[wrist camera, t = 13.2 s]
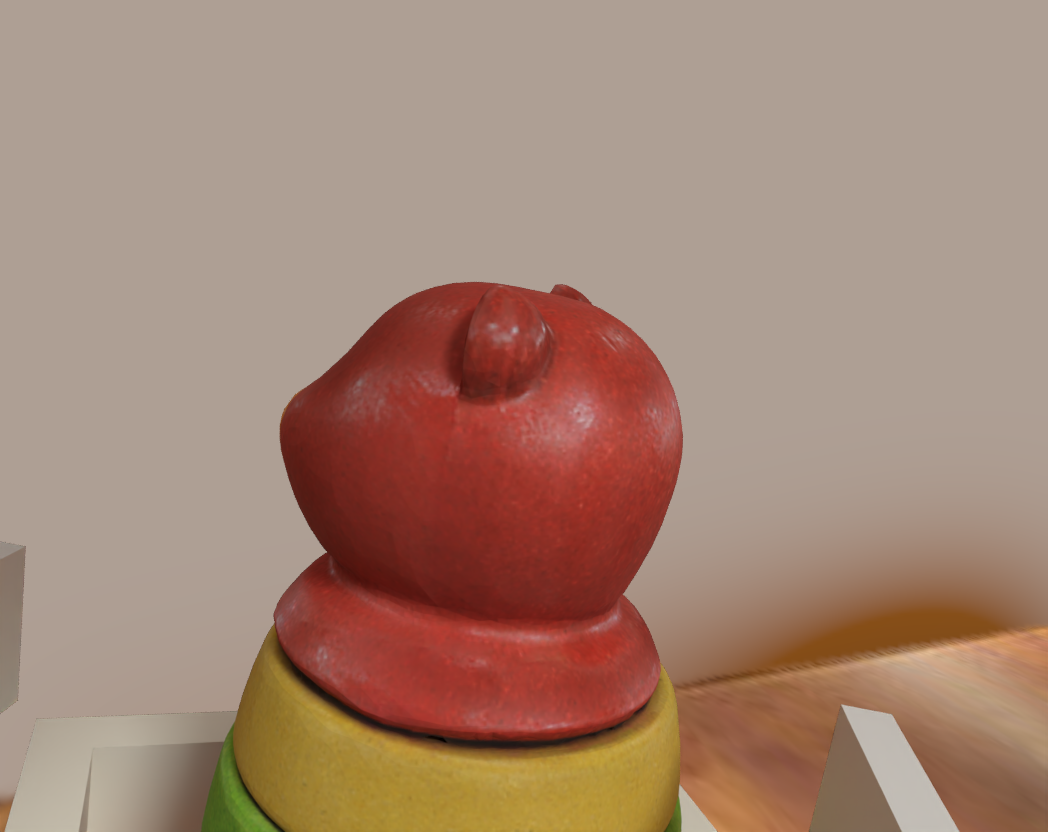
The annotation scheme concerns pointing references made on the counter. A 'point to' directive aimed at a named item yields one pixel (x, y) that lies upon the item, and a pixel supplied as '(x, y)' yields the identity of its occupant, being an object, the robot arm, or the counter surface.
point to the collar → (140, 774)
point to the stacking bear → (468, 583)
